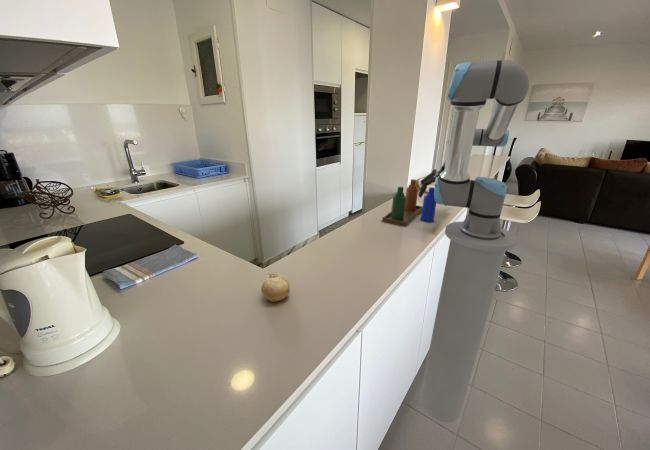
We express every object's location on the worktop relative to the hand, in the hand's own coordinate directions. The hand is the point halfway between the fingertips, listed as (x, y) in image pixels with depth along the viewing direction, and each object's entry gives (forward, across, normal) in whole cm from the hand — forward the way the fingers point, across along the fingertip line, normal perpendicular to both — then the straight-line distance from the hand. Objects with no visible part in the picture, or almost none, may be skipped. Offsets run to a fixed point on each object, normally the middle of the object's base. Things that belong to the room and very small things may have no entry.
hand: (431, 199), depth 135 cm
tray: (+11, +12, -4) cm, 16 cm away
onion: (+73, -5, +58) cm, 93 cm away
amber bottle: (+4, +14, -10) cm, 18 cm away
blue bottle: (+9, 0, -6) cm, 11 cm away
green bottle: (+17, +9, +3) cm, 20 cm away
